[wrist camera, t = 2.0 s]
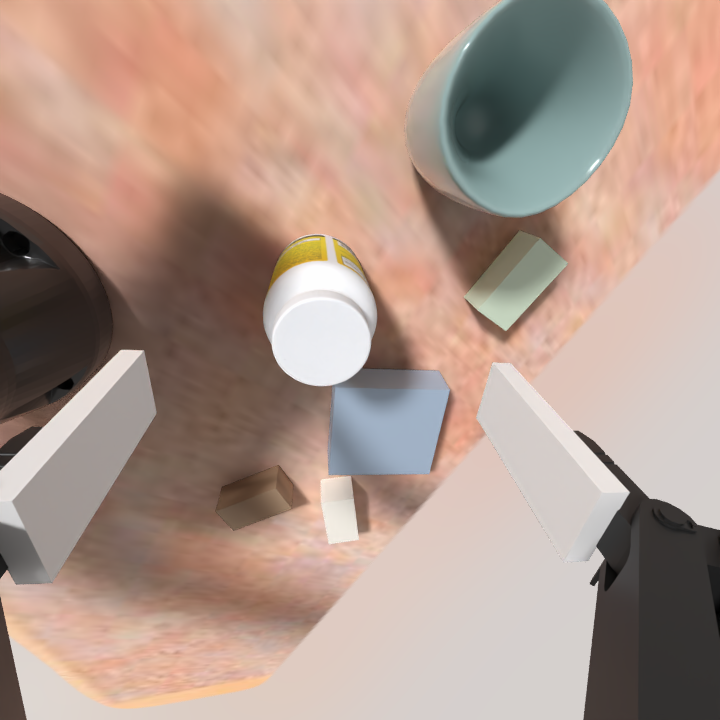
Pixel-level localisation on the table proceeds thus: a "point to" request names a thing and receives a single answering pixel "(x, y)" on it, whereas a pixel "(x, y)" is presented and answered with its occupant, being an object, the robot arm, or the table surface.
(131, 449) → the robot arm
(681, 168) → the table surface
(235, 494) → the walnut brick
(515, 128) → the cup
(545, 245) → the sage brick
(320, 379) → the pill bottle
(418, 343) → the table surface
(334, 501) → the cream brick
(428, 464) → the slab
